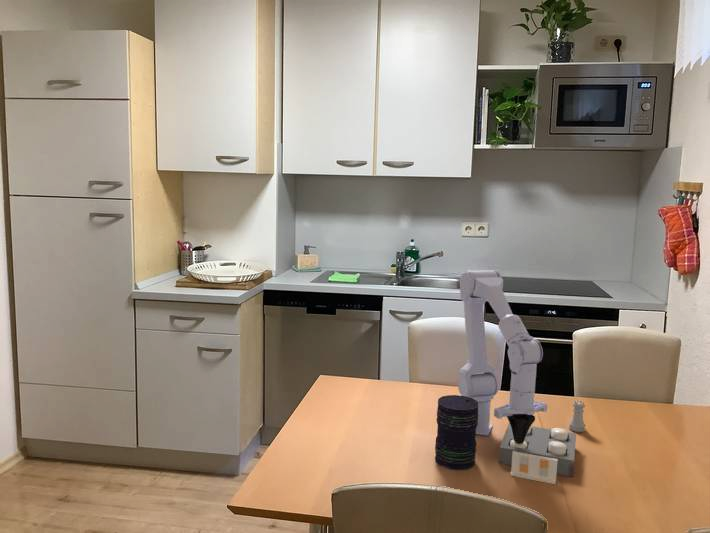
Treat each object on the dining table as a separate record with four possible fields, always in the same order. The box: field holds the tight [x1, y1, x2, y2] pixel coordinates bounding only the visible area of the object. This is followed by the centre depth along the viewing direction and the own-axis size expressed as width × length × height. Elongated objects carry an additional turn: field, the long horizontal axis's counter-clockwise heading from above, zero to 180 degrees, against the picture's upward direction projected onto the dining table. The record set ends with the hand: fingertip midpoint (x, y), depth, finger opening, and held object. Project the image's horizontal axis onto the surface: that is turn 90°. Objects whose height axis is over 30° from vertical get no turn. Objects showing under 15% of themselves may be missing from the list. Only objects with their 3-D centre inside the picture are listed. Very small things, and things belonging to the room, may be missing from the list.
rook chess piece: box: [568, 399, 586, 433], centre depth 170 cm, size 4×4×8 cm
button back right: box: [551, 427, 569, 441], centre depth 155 cm, size 4×4×3 cm
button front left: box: [509, 440, 528, 449], centre depth 151 cm, size 4×4×3 cm
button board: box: [498, 422, 577, 478], centre depth 153 cm, size 17×17×4 cm
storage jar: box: [434, 394, 478, 471], centre depth 148 cm, size 10×10×15 cm
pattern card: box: [509, 451, 558, 485], centre depth 142 cm, size 10×3×5 cm, turn 69°
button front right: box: [547, 441, 567, 456], centre depth 147 cm, size 4×4×3 cm
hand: (518, 442), depth 150 cm, fingers closed
